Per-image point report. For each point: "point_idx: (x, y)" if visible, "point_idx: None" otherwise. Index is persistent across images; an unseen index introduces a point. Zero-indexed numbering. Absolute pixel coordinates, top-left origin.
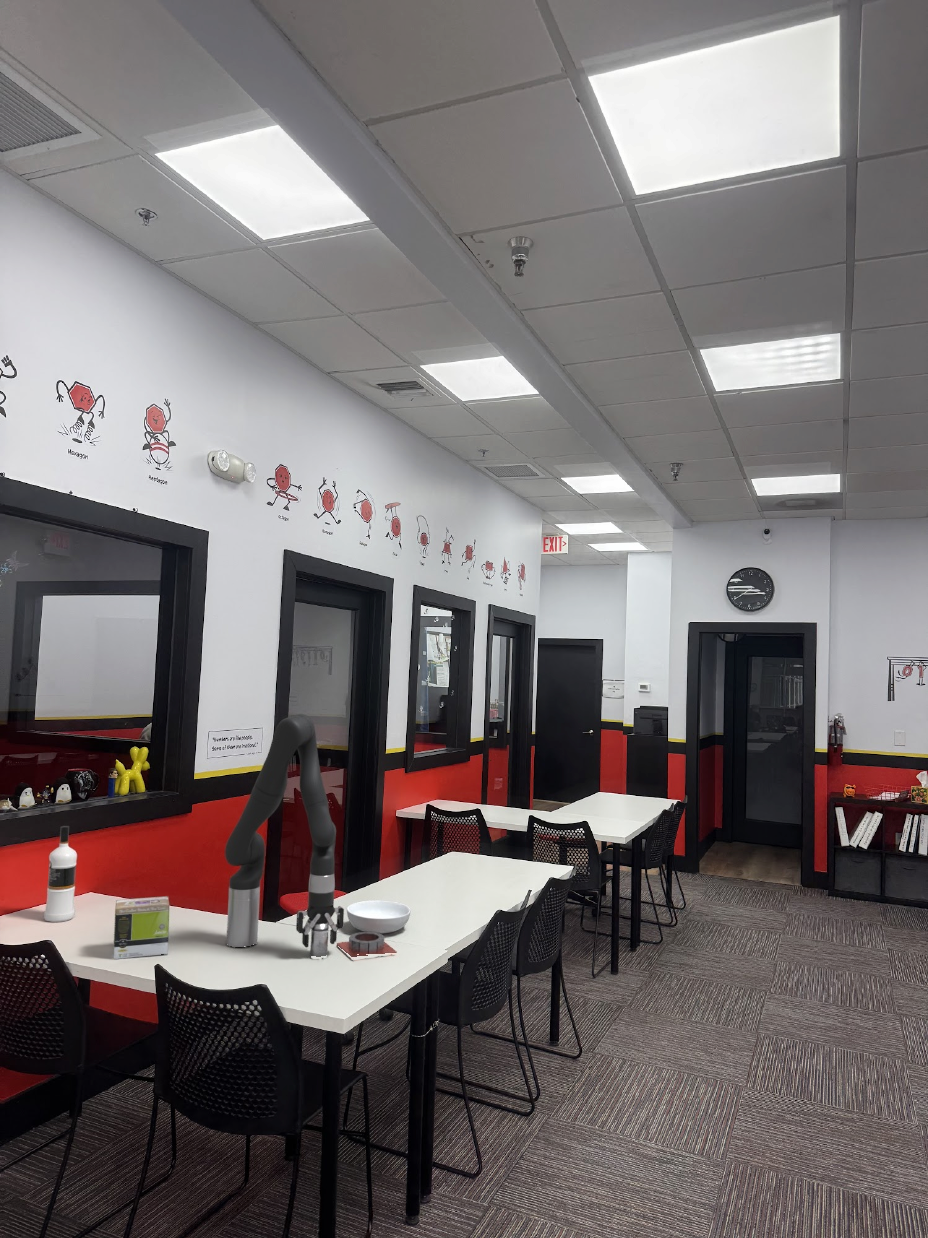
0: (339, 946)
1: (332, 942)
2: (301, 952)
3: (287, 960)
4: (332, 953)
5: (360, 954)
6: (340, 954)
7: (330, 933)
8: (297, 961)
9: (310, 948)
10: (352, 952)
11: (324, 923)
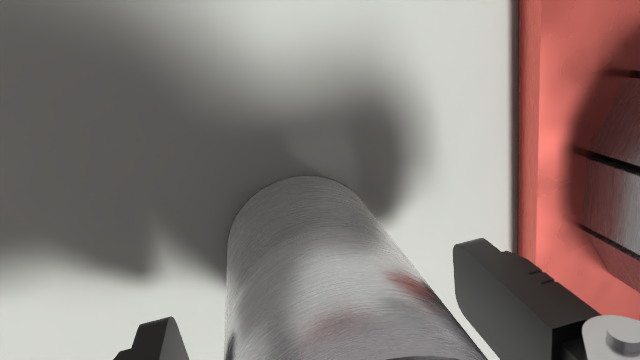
0: (534, 66)
1: (470, 320)
2: (145, 95)
3: (6, 300)
4: (432, 171)
5: (605, 312)
6: (485, 204)
7: (517, 308)
8: (108, 328)
9: (226, 292)
10: (572, 268)
11: None
